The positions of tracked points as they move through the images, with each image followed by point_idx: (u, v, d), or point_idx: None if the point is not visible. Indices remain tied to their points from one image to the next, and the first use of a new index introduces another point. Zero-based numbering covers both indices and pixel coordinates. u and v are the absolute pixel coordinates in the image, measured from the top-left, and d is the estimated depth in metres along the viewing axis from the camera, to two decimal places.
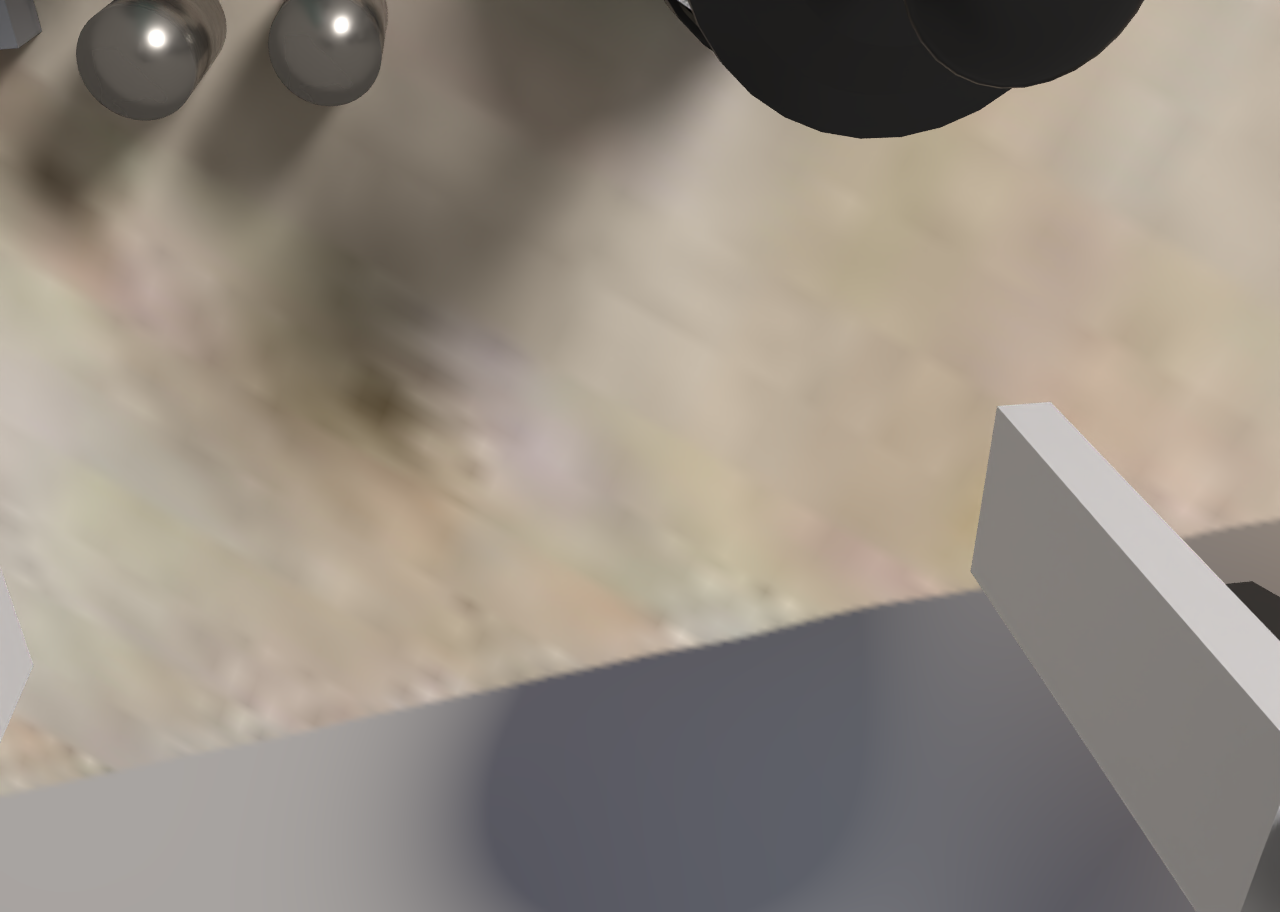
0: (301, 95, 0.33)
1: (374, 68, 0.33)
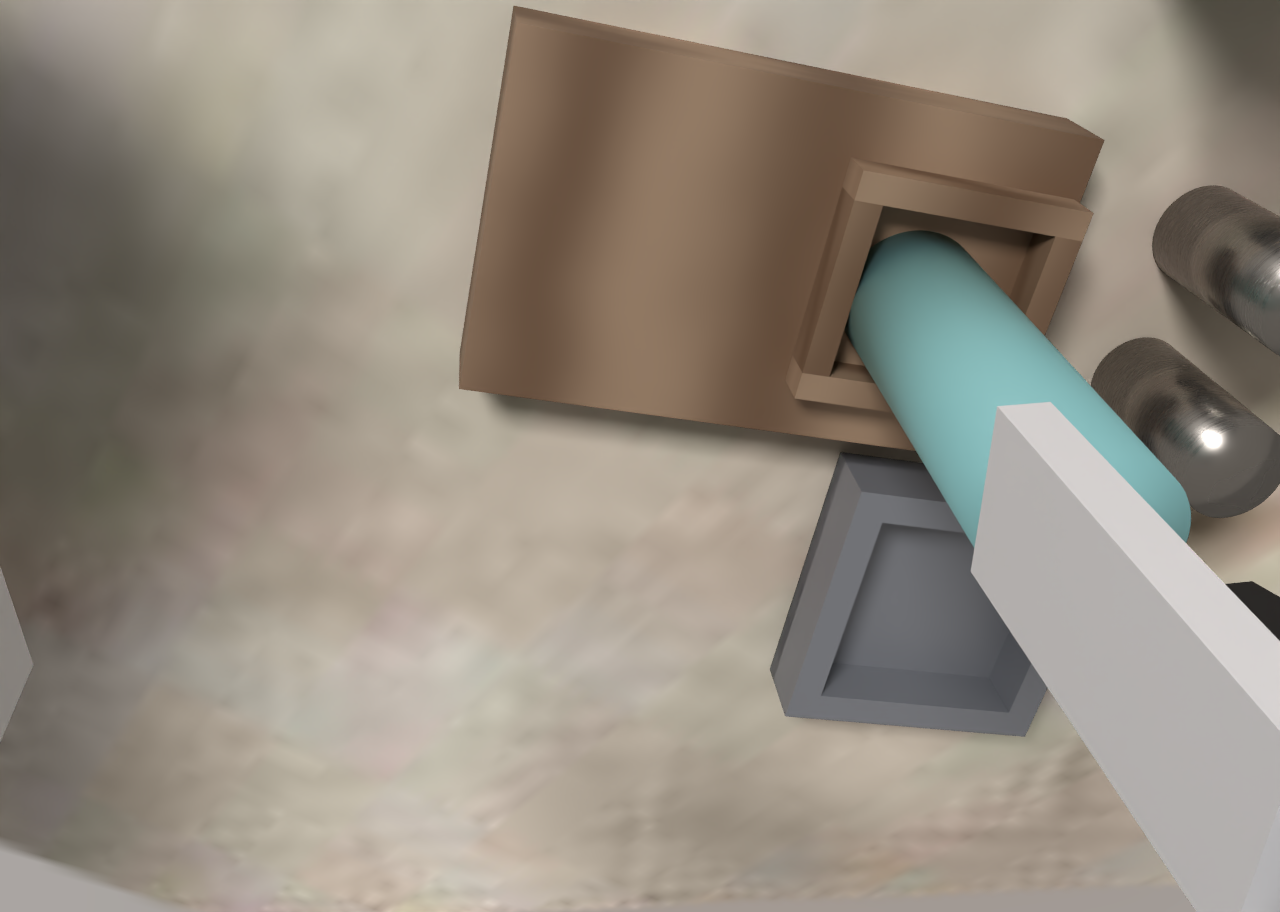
0: None
1: None
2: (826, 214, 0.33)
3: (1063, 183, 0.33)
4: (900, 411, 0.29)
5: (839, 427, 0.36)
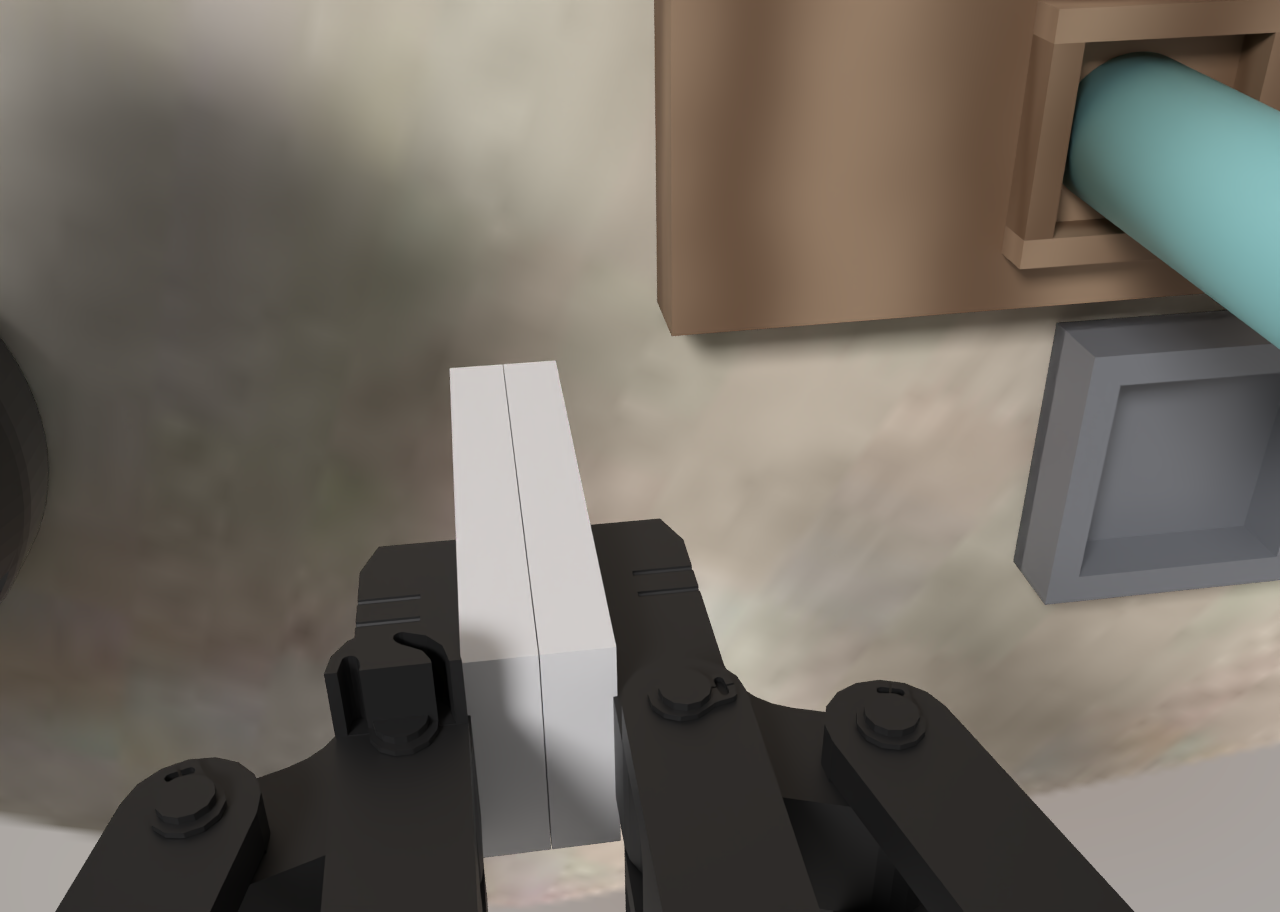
0: None
1: None
2: (1021, 67, 0.31)
3: None
4: (1170, 248, 0.27)
5: (1065, 290, 0.34)
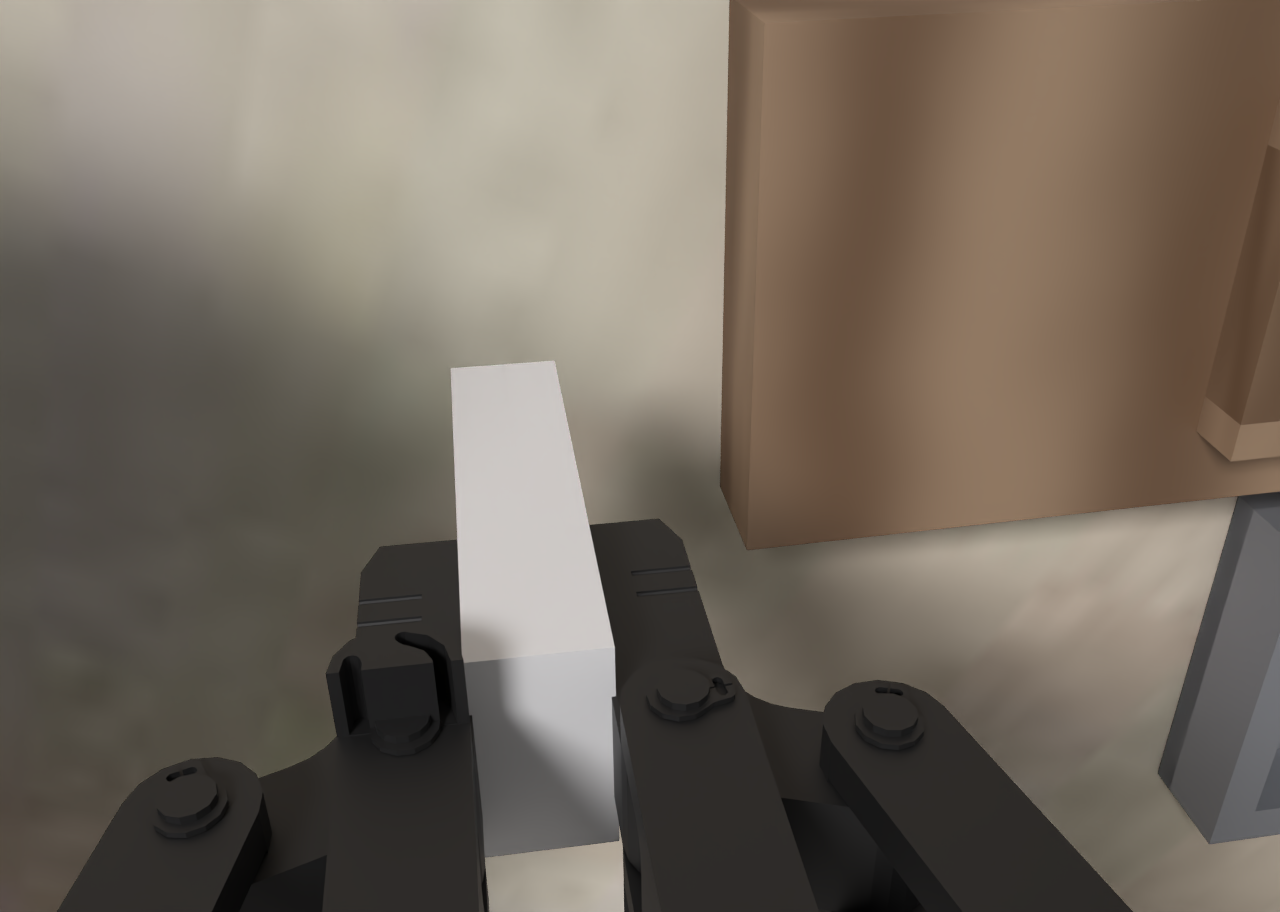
0: None
1: None
2: (1246, 190, 0.22)
3: None
4: None
5: (1274, 474, 0.25)
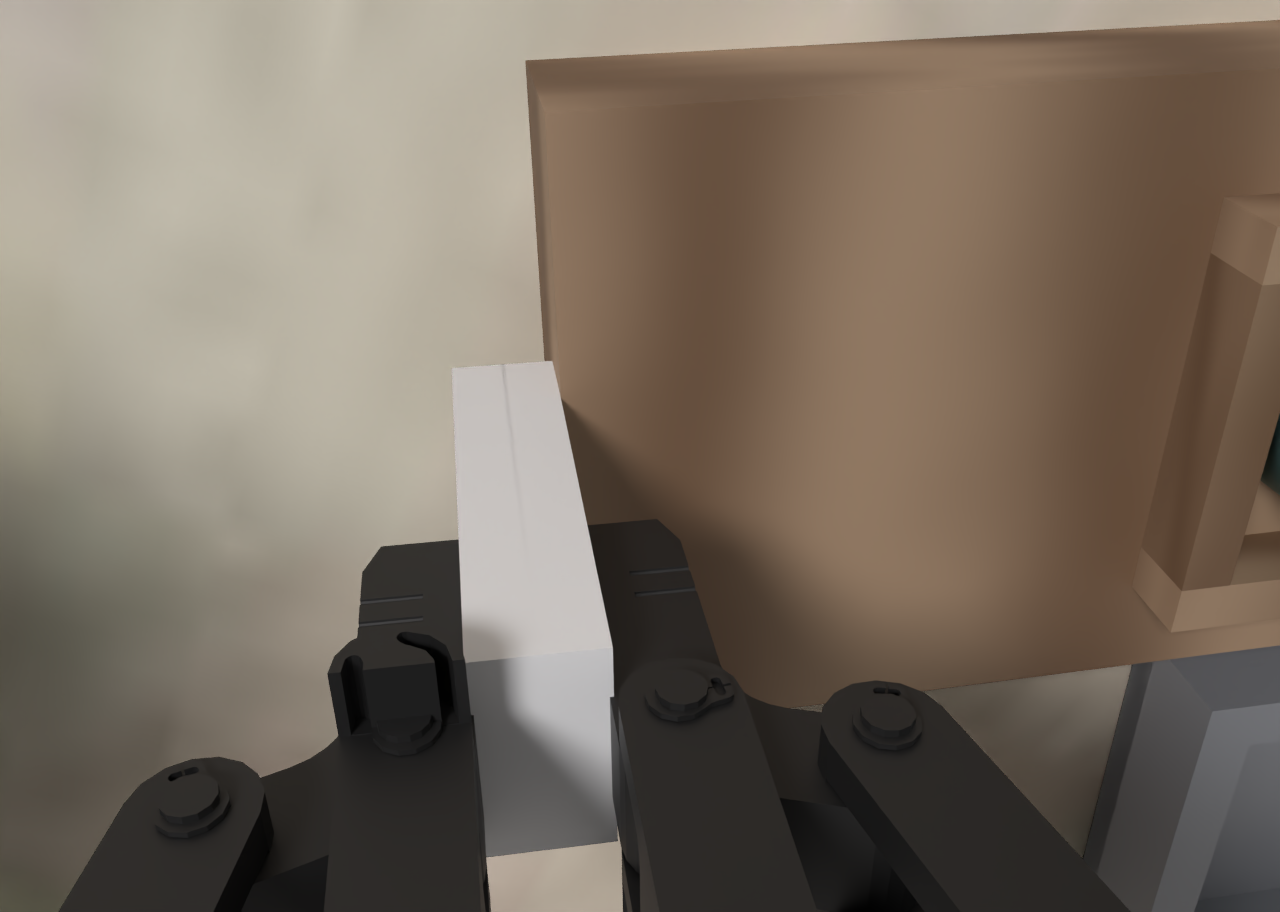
0: None
1: None
2: (1185, 307, 0.17)
3: None
4: None
5: (1229, 632, 0.21)
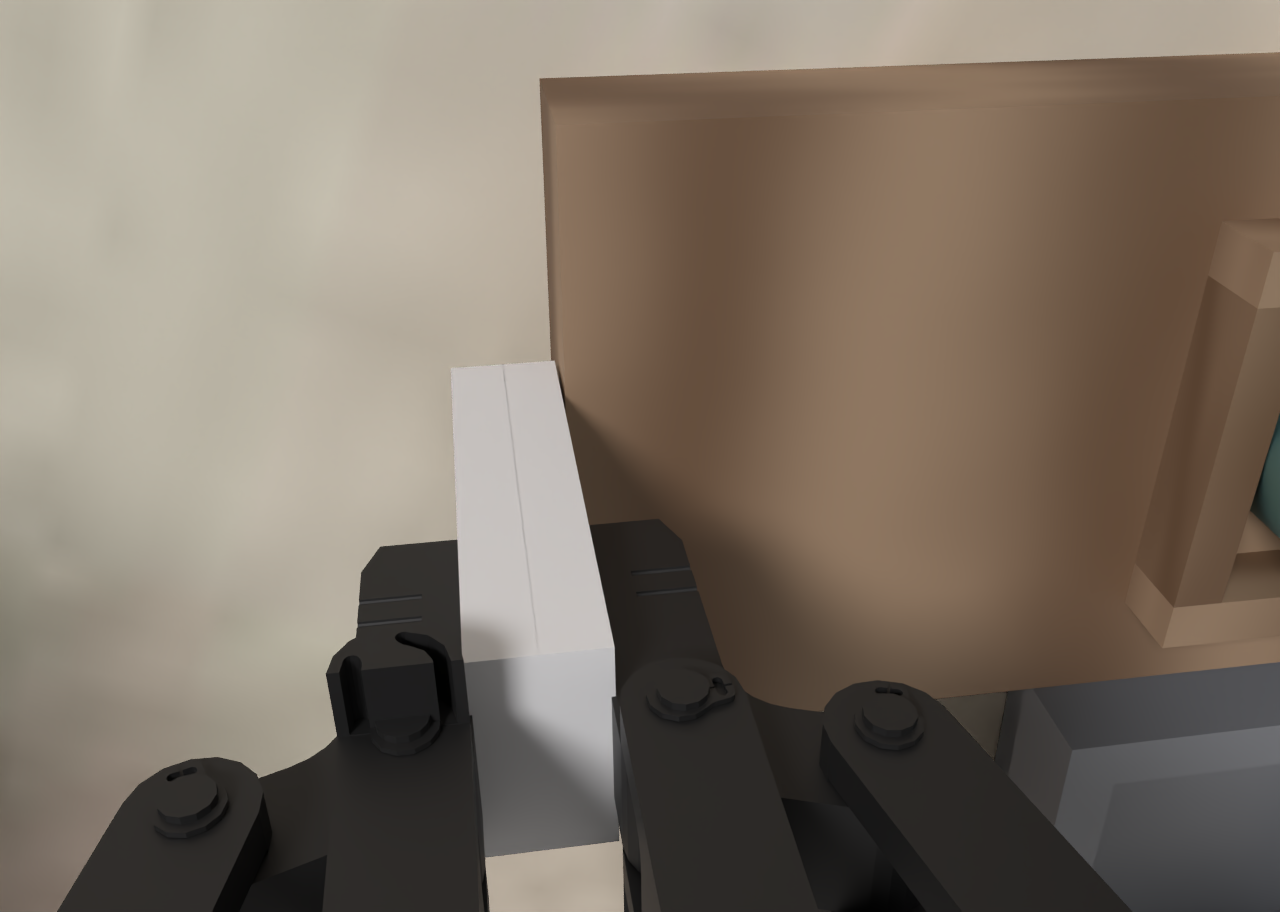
0: None
1: None
2: (1182, 328, 0.18)
3: None
4: None
5: (1221, 649, 0.21)
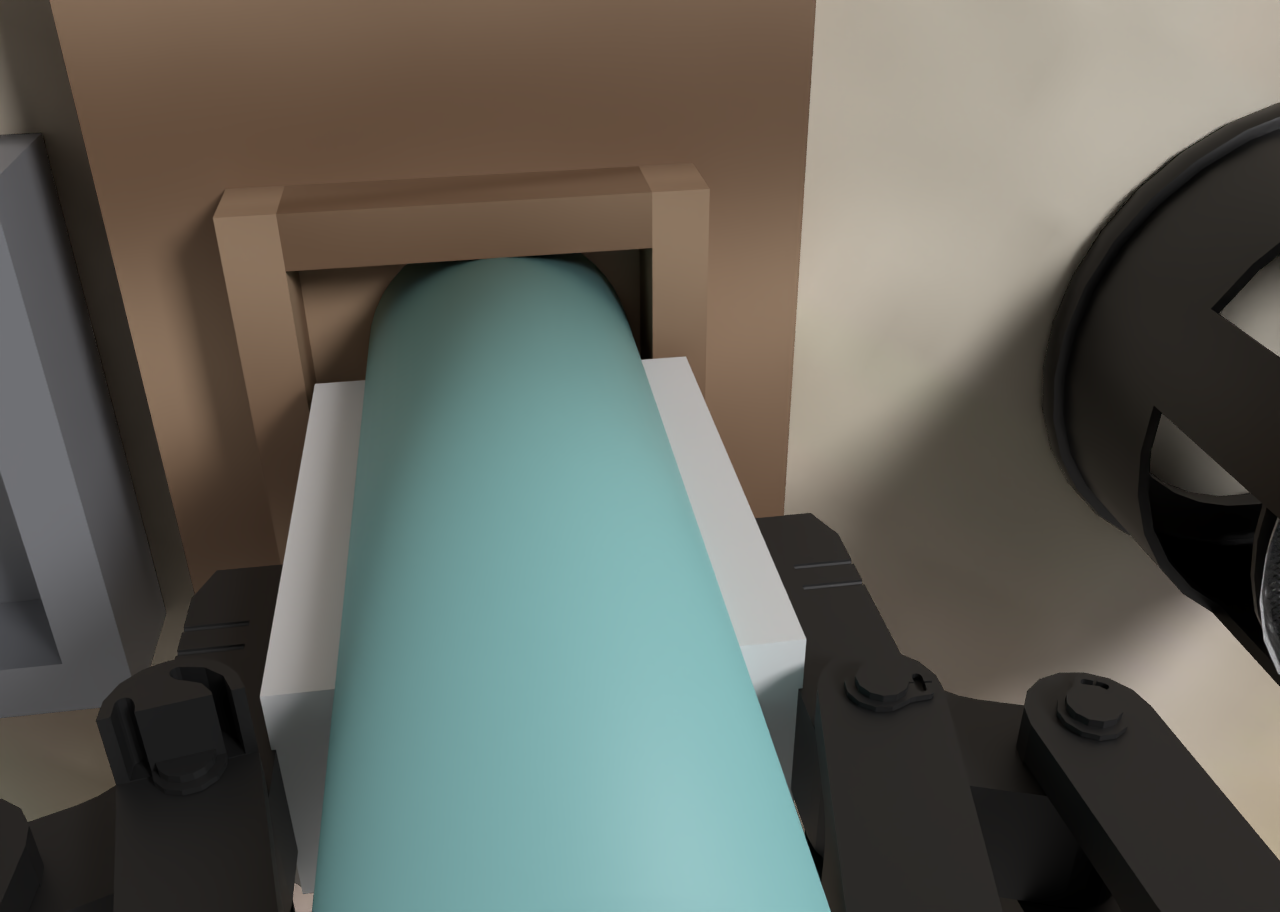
0: None
1: None
2: (582, 155, 0.17)
3: None
4: (454, 433, 0.13)
5: (161, 331, 0.18)
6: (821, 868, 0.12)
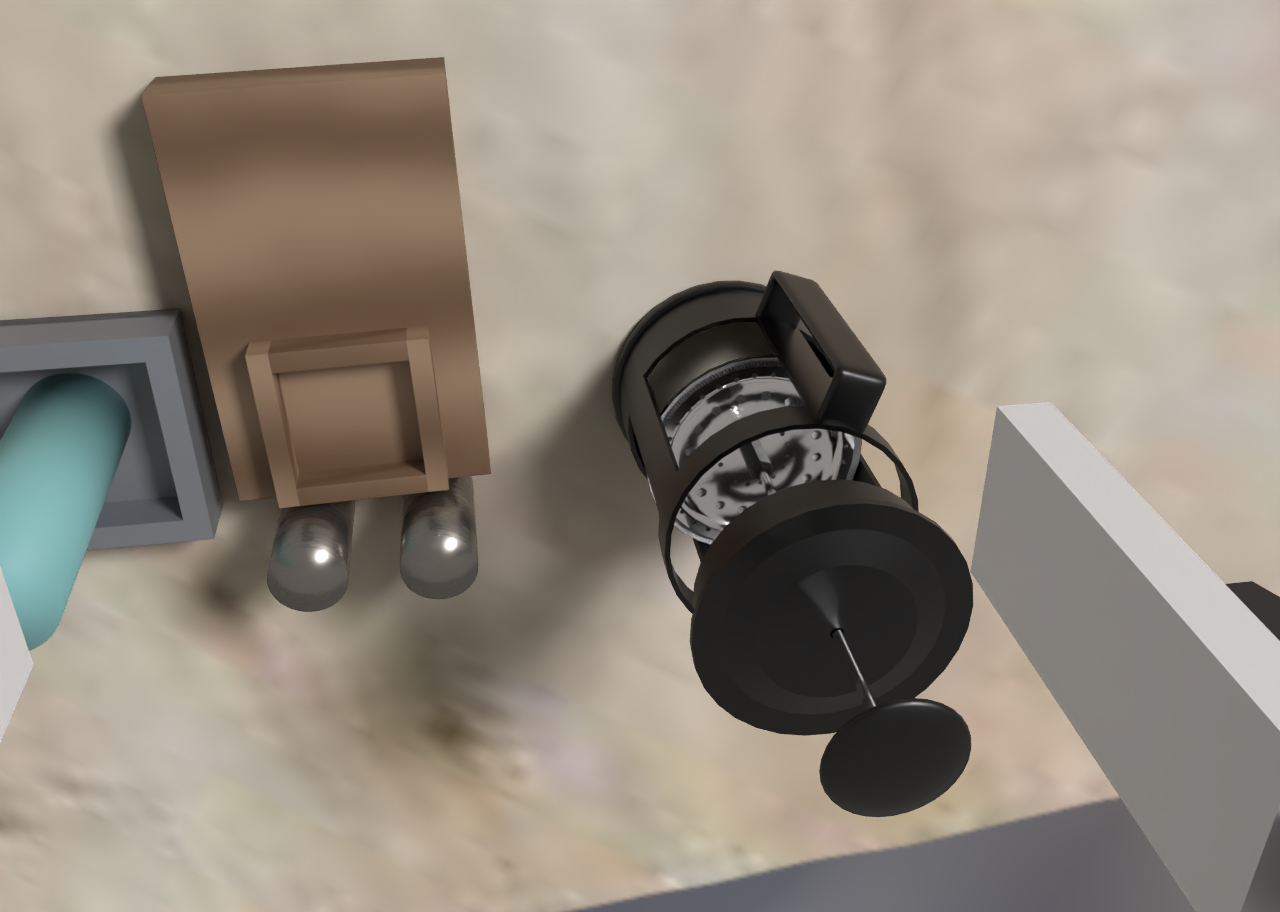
0: (420, 593, 0.47)
1: (472, 576, 0.47)
2: (384, 324, 0.45)
3: (456, 462, 0.49)
4: (9, 452, 0.41)
5: (225, 395, 0.46)
6: None
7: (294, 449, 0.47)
